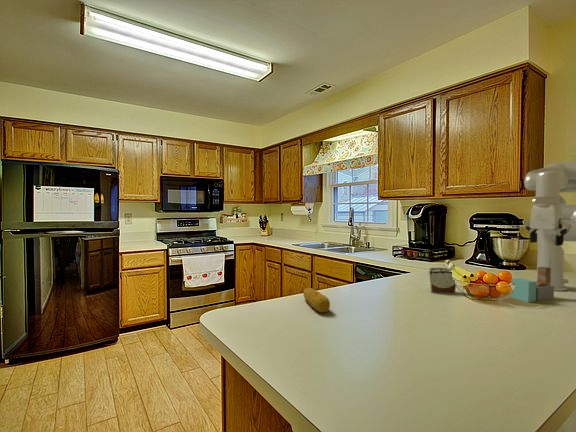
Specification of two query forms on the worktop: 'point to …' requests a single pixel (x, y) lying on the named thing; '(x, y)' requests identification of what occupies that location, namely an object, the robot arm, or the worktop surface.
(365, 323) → the worktop surface
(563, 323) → the worktop surface
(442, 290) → the food container
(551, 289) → the guide channel
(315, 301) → the food
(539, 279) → the rod
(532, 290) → the teal rectangular block
